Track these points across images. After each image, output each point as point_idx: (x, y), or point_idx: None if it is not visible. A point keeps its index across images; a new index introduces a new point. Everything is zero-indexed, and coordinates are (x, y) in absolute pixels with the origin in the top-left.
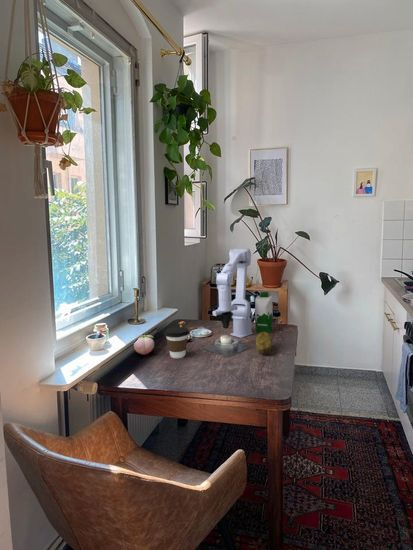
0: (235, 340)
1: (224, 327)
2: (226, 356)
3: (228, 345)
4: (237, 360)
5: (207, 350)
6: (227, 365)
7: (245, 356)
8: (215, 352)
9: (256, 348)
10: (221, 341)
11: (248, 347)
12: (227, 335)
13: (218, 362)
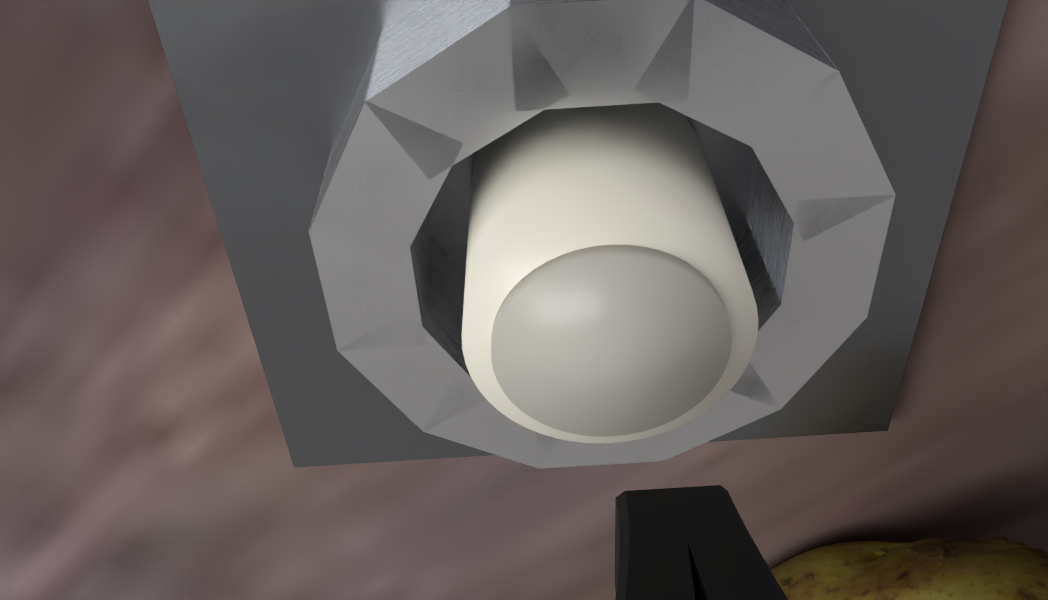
0: (771, 363)
1: (617, 553)
2: (290, 446)
3: (458, 432)
4: (344, 570)
5: (155, 9)
6: (131, 595)
7: (529, 548)
8: (224, 243)
9: (786, 581)
10: (467, 263)
11: (833, 426)
12: (690, 340)
13: (71, 489)
